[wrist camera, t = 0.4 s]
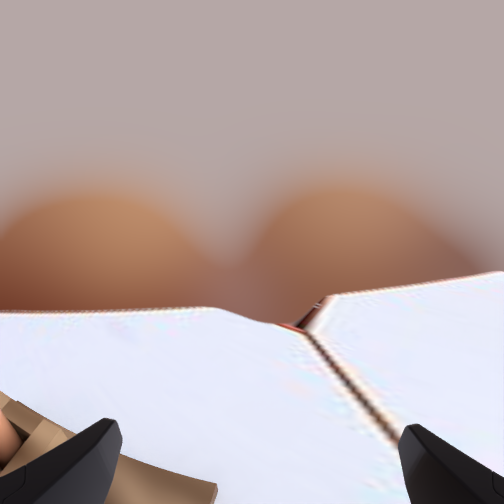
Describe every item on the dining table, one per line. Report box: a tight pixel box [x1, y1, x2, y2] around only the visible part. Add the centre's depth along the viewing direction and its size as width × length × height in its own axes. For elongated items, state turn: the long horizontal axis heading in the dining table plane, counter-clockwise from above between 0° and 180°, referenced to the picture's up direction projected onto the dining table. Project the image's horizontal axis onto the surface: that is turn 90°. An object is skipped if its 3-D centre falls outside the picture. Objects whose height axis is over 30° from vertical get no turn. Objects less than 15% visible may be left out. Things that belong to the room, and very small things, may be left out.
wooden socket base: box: [0, 391, 218, 504], centre depth 15 cm, size 12×22×4 cm, turn 79°
